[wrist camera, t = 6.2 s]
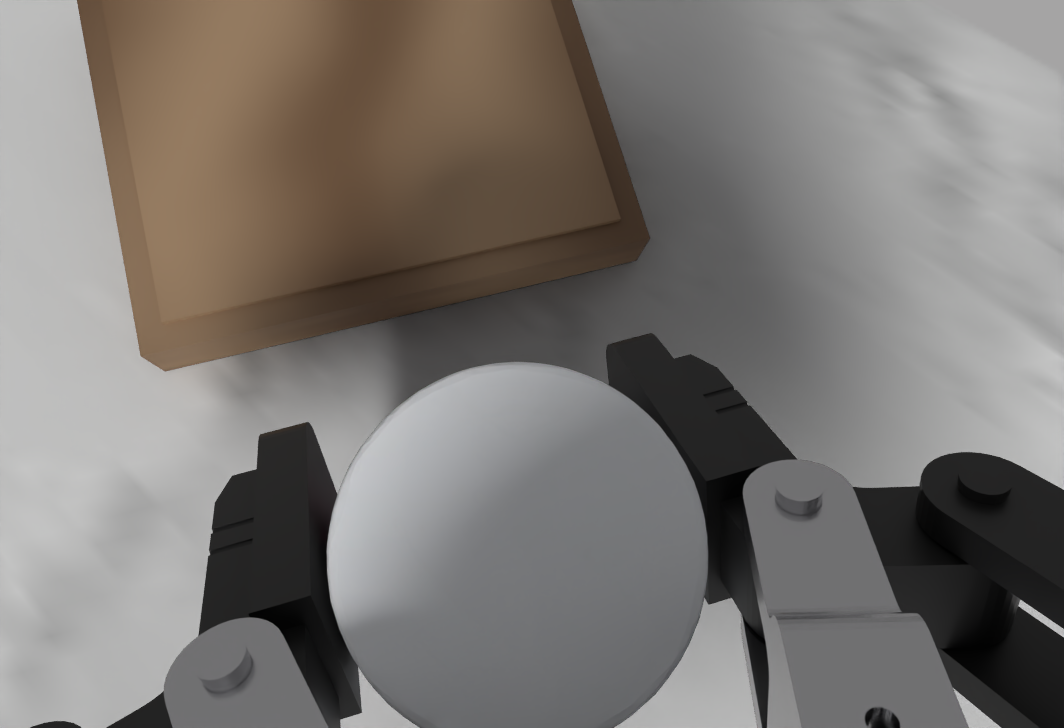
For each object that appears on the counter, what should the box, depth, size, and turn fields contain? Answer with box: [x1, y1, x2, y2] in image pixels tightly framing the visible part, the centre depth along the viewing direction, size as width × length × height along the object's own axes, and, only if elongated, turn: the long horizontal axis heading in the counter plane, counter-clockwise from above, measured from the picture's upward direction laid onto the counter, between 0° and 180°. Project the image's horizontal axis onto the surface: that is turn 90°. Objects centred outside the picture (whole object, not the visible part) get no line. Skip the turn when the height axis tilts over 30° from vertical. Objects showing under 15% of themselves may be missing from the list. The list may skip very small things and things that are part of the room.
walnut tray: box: [77, 0, 650, 371], centre depth 20 cm, size 12×10×2 cm
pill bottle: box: [326, 362, 708, 728], centre depth 12 cm, size 5×5×8 cm
